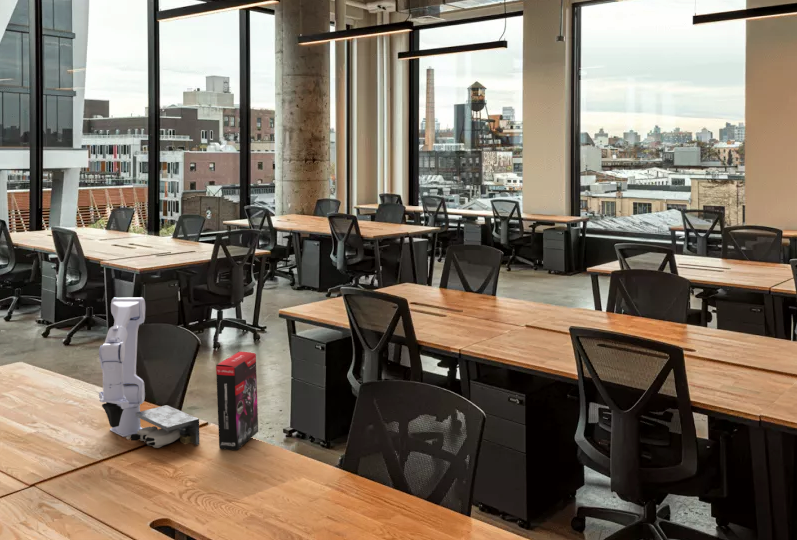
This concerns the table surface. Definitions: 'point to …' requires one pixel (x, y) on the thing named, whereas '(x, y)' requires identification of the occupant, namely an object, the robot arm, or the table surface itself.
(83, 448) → the table surface
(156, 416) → the overhang shelf
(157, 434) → the robot toy
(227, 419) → the graphics card box
